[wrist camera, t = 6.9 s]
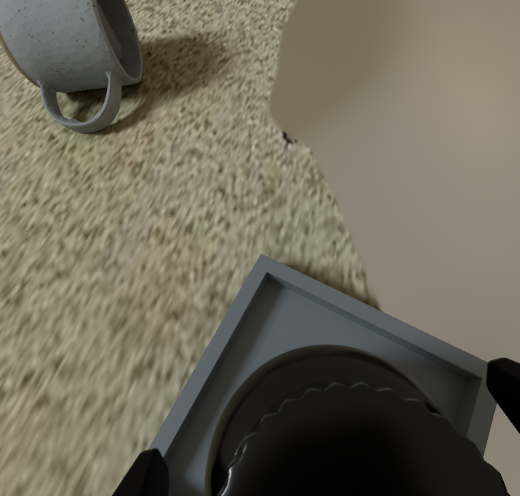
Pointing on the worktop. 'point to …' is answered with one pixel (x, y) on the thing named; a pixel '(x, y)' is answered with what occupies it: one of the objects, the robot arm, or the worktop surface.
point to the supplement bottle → (341, 433)
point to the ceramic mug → (73, 51)
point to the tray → (300, 335)
